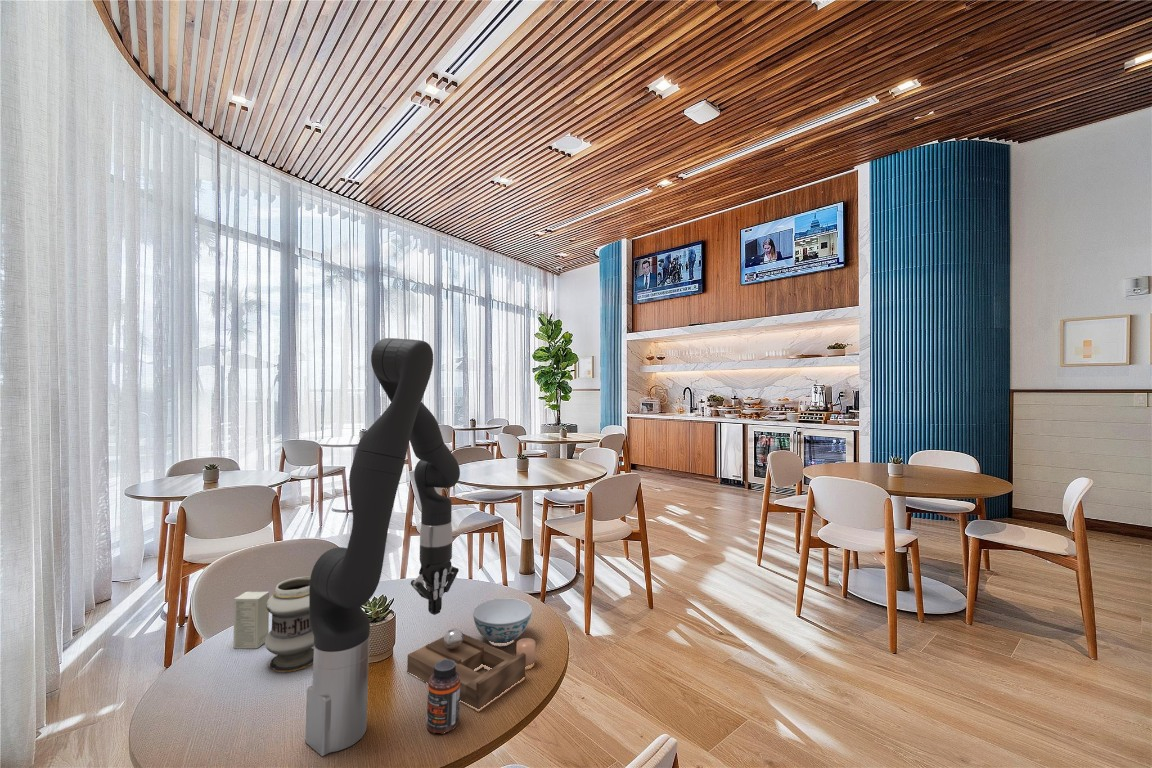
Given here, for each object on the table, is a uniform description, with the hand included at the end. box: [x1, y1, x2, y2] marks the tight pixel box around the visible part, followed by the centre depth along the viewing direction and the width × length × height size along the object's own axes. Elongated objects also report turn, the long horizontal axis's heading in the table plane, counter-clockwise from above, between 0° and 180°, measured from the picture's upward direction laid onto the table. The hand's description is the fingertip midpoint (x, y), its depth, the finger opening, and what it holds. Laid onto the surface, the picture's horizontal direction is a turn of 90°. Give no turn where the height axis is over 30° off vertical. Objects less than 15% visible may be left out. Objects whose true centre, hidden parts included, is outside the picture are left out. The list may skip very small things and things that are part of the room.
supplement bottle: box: [426, 659, 460, 734], centre depth 90 cm, size 6×6×11 cm
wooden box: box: [406, 633, 526, 709], centre depth 106 cm, size 14×23×6 cm, turn 55°
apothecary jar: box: [264, 576, 314, 673], centre depth 111 cm, size 12×12×18 cm
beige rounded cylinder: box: [515, 637, 536, 666], centre depth 111 cm, size 4×4×5 cm
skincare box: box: [233, 591, 270, 650], centre depth 118 cm, size 6×4×12 cm
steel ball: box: [443, 627, 464, 649], centre depth 110 cm, size 4×4×4 cm
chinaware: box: [472, 597, 533, 643], centre depth 122 cm, size 15×15×8 cm
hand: (435, 612), depth 115 cm, fingers closed
